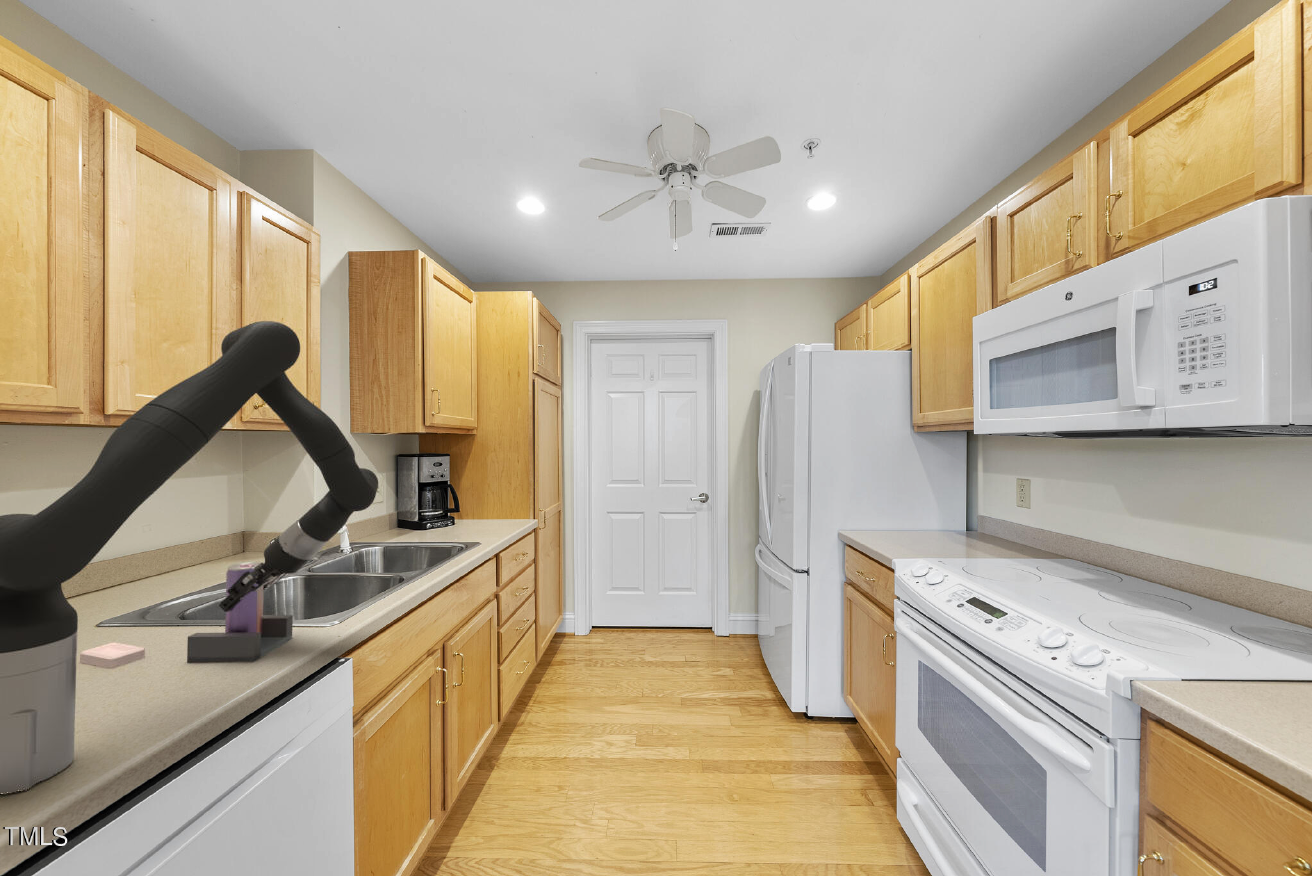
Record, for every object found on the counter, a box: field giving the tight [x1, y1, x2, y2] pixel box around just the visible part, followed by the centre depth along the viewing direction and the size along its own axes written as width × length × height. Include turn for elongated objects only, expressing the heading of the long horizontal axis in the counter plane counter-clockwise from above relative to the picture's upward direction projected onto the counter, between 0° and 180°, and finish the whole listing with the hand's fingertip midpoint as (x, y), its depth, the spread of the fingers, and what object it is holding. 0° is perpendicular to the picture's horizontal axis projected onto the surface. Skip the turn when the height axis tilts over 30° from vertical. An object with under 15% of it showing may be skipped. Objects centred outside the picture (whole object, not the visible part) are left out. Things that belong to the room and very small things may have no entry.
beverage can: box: [224, 561, 264, 634], centre depth 105 cm, size 6×6×15 cm
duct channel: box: [186, 614, 294, 664], centre depth 105 cm, size 12×12×5 cm
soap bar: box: [79, 641, 146, 669], centre depth 99 cm, size 5×9×2 cm, turn 75°
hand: (235, 603), depth 105 cm, fingers closed on beverage can, 5 cm apart
